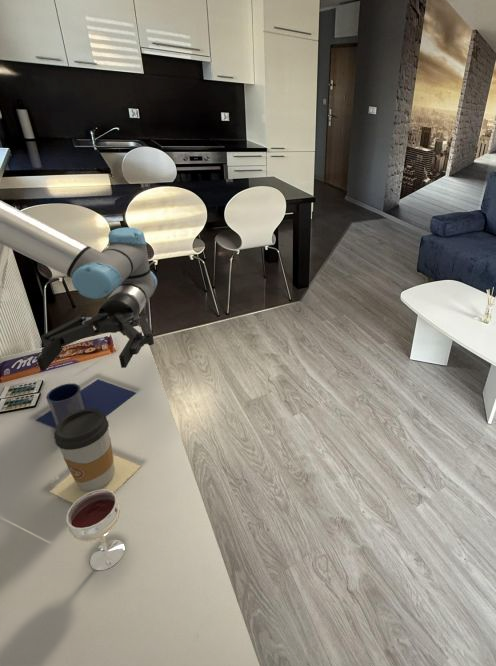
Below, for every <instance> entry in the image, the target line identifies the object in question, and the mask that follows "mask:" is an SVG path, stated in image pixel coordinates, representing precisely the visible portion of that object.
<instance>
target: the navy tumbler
mask: <svg viewBox="0 0 496 666" xmlns="http://www.w3.org/2000/svg"><path fill="white" fill-rule="evenodd" d="M81 390H82V389H81V386H80V385H79V384H77V383H71V382H70V383H65V384H60V385H58V386H56V387H54V388H53V389H50V390H49V392H48V393H47V395H46V397H45V399H46V401H47V404H48V407H49V411H50V410H51V413H52V416H53V419H54V422H55V425H56V426H57V424H58V423H59V422H60V421H61V420H62V419H63V418H64V417H66V416H67V415H69V414H71V413H73V412H75V411H78V410H82V409H87V408H86V405H85V401H84V398H83V394H82V391H81Z"/></svg>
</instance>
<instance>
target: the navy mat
mask: <svg viewBox="0 0 496 666" xmlns="http://www.w3.org/2000/svg"><path fill="white" fill-rule="evenodd" d="M81 391H82V394H83V398H84V401H85V405H86V408H87V409H97V410H99V411H101V413H102V414H104V415H105V417H106V418H107V416H109V415H110V414H112V413H113V412H114V411H115V410H117V409H118V408H119V407H120V406H122V405H123V404H125V403H126V402H127V401H128V400H130V399H131V398H132V397H134V396H135V395H136V394H137V392H135V391H133V390H130V389H127V388H124V387H122V386H119V385H116V384H113V383H110V382H107V381H104V380H101V379H98V378H97V379H96V380H94V381H92V382H91V383H90V384H88V385H87V386H85V387H83V388H82V389H81ZM35 421H36V422H39V423H41V424H44V425H46V426H49V427H51V428H52V429H56V425H55V422H54V419H53V416H52V413H51V410H50V409H49V410H48V411H47V412H45V413H44V414H42V415H41V416H39V417H38V418H36V419H35Z"/></svg>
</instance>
